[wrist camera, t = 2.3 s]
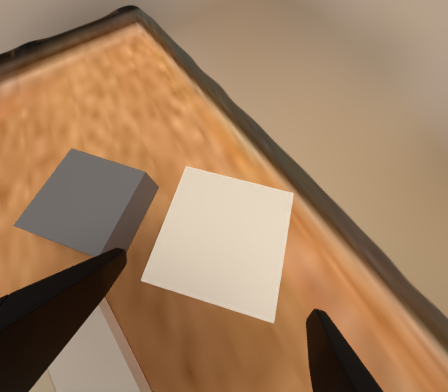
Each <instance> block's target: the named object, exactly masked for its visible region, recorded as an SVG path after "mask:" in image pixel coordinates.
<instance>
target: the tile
mask: <svg viewBox="0 0 448 392" xmlns="http://www.w3.org/2000/svg"><path fill="white" fill-rule="evenodd" d="M29 392H152V390H151V388H150V386H149V384H148V382H147V380H146V378H145V376H144V374H143V372H142V370H141V368H140V366H139V364H138V362H137V360H136V358H135V356H134V354H133V352H132V350H131V348H130V346H129V344H128V342H127V340H126V338H125V336H124V334H123V332H122V330H121V328H120V326H119V324H118V322H117V320H116V318H115V316H114V314H113V312H112V310H111V308H110V306H109V304H108V302H107V300H106V298H105V297H104V298H103V300H102V301H101V302H100V304H99V305H98V306H97V307H96V309H95V310H94V311H93V312H92V314H91V315H90V316H89V317H88V319H87V320H86V321H85V322H84V324H83V325H82V326H81V327H80V329H79V330H78V331H77V332H76V334H75V335H74V336H73V337H72V339H71V340H70V341H69V342H68V344H67V345H66V346H65V347H64V349H63V350H62V351H61V352H60V354H59V355H58V356H57V357H56V359H55V360H54V361H53V362H52V364H51V365H50V366H49V367H48V369H47V370H46V371H45V372H44V374H43V375H42V376H41V377H40V379H39V380H38V381H37V382H36V384H35V385H34V386H33V387H32V389H31V390H30V391H29Z"/></svg>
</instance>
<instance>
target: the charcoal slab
mask: <svg viewBox="0 0 448 392" xmlns="http://www.w3.org/2000/svg"><path fill="white" fill-rule="evenodd" d="M158 188H159V187H158V186H157V185H156V183H155V182H154V181H153V180H152V179H151V178H150V177H149V175H148V174H147V173H146V172H144V171H141V170H138V169H135V168H132V167H128V166H125V165H122V164H119V163H116V162H113V161H110V160H106V159H103V158H100V157H97V156H94V155H91V154H88V153H85V152H81V151H78V150H75V149H72V148H71V150H70V151H69V152H68V154H67V155H66V156H65V158H64V159H63V160H62V162H61V163H60V164H59V166H58V167H57V168H56V170H55V171H54V172H53V174H52V175H51V176H50V178H49V179H48V180H47V182H46V183H45V184H44V186H43V187H42V188H41V190H40V191H39V192H38V194H37V195H36V196H35V198H34V199H33V200H32V202H31V203H30V204H29V205H28V207H27V208H26V209H25V211H24V212H23V213H22V215H21V216H20V217H19V219H18V220H17V221H16V223H15V224H14V225H13V226H15V227H18V228H21V229H23V230H26V231H28V232H31V233H34V234H36V235H39V236H41V237H44V238H47V239H49V240H52V241H54V242H57V243H59V244H62V245H65V246H67V247H70V248H72V249H75V250H78V251H80V252H83V253H85V254H88V255H91V256H93V257H95V256H98V255H100V254H102V253H104V252H107V251H109V250H111V249H114V248H117V247H119V248H122V249H125V250H126V252H127V250H128V248H129V246H130V244H131V242H132V240H133V238H134V236H135V234H136V232H137V230H138V228H139V226H140V224H141V222H142V220H143V218H144V216H145V214H146V212H147V210H148V208H149V206H150V204H151V202H152V200H153V198H154V196H155V194H156V192H157V190H158Z"/></svg>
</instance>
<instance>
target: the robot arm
mask: <svg viewBox="0 0 448 392" xmlns="http://www.w3.org/2000/svg"><path fill="white" fill-rule="evenodd" d="M126 262H127V258H126V250H125V249H122V248H119V247H117V248H114V249H111V250H109V251H107V252H104V253H102V254H100V255H98V256H95V257H93V258H91V259H88V260H86V261H84V262H81V263H79V264H77V265H75V266H72V267H70V268H68V269H65V270H63V271H61V272H58V273H56V274H54V275H52V276H49V277H47V278H45V279H42V280H40V281H38V282H35V283H33V284H31V285H29V286H26V287H24V288H22V289H19V290H17V291H15V292H12V293H10V295H5V296H3V297H1V298H0V392H29V391H30V390H31V389H32V387H33V386H34V385H35V384H36V382H37V381H38V380H39V379H40V377H41V376H42V375H43V374H44V372H45V371H46V370H47V369H48V367H49V366H50V365H51V364H52V362H53V361H54V360H55V359H56V357H57V356H58V355H59V354H60V352H61V351H62V350H63V349H64V347H65V346H66V345H67V344H68V342H69V341H70V340H71V339H72V337H73V336H74V335H75V334H76V332H77V331H78V330H79V329H80V327H81V326H82V325H83V324H84V322H85V321H86V320H87V319H88V317H89V316H90V315H91V314H92V312H93V311H94V310H95V309H96V307H97V306H98V305H99V304H100V302H101V301H102V300H103V298H104V297H105V296H106V294H107V293H108V291H109V290H110V288H111V287H112V285H113V284H114V282H115V281H116V279H117V278H118V276H119V275H120V273H121V272H122V270H123V269H124V267H125V265H126ZM306 330H307V345H308V360H309V369H310V376H311V383H312V389H313V392H383V390H382V389H381V388H380V386H379V385H378V384H377V382H376V381H375V379H374V378H373V377H372V375H371V374H370V373H369V371H368V370H367V368H366V367H365V366H364V364H363V363H362V362H361V360H360V359H359V357H358V356H357V355H356V353H355V352H354V350H353V349H352V348H351V346H350V345H349V344H348V342H347V341H346V339H345V338H344V337H343V335H342V334H341V333H340V331H339V330H338V328H337V327H336V326H335V324H334V323H333V322H332V320H331V319H330V317H329V316H328V315H327V313H326V312H324V311H322V310H319V309H314V310H313V311H312V312H311V314H310V315H309V317H308V318H307V321H306Z"/></svg>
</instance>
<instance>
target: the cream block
mask: <svg viewBox="0 0 448 392" xmlns="http://www.w3.org/2000/svg"><path fill="white" fill-rule="evenodd" d="M293 195H294V193H291V192H287V191H283V190H279V189H275V188H271V187H267V186H263V185H259V184H255V183H251V182H247V181H243V180H239V179H235V178H231V177H228V176H224V175H220V174H216V173H212V172H208V171H204V170H200V169H196V168H192V167H188V166H186V168H185V170H184V173H183V175H182V178H181V180H180V183H179V185H178V188H177V190H176V193H175V195H174V198H173V200H172V203H171V205H170V208H169V210H168V213H167V215H166V218H165V220H164V223H163V225H162V228H161V230H160V233H159V235H158V238H157V240H156V243H155V245H154V248H153V250H152V253H151V255H150V258H149V260H148V263H147V265H146V268H145V270H144V273H143V275H142V278H141V280H140V281H142V282H146V283H149V284H152V285H155V286H158V287H161V288H164V289H167V290H171V291H174V292H177V293H180V294H183V295H186V296H189V297H192V298H196V299H199V300H202V301H205V302H208V303H211V304H214V305H217V306H221V307H224V308H227V309H230V310H233V311H236V312H239V313H242V314H246V315H249V316H252V317H255V318H258V319H261V320H264V321H268V322H271V323H274V320H275V313H276V306H277V300H278V293H279V287H280V280H281V274H282V267H283V260H284V254H285V247H286V241H287V234H288V227H289V221H290V214H291V208H292V201H293Z"/></svg>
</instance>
